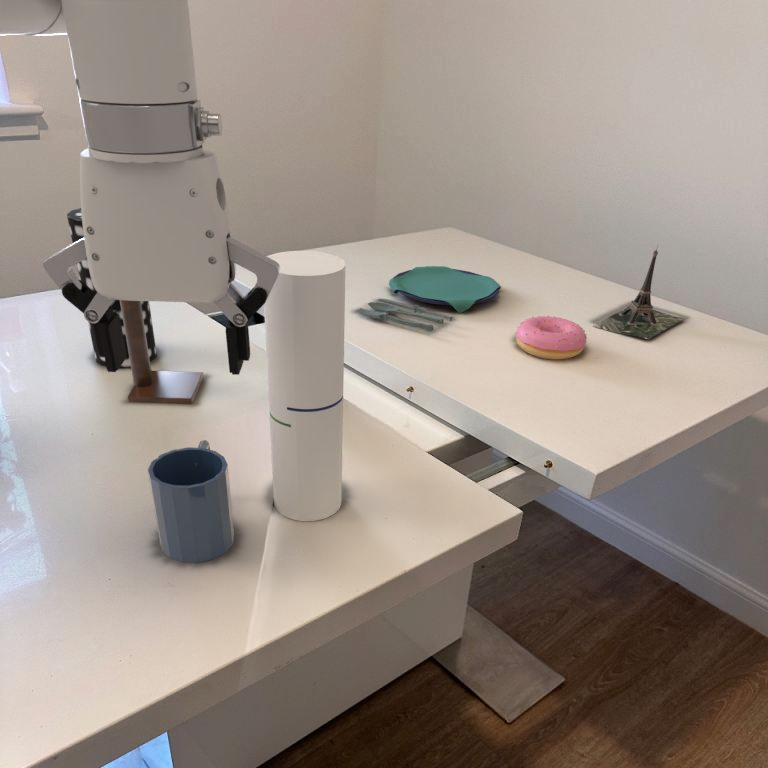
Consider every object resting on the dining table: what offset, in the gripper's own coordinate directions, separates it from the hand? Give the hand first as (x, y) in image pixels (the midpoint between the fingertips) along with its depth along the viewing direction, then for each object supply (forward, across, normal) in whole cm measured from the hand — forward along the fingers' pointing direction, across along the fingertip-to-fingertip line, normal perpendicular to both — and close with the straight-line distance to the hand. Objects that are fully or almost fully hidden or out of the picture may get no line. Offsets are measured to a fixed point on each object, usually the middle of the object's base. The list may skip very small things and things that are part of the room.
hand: (177, 366), depth 58 cm
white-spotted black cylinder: (+18, +18, -42) cm, 50 cm away
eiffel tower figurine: (+19, -63, -65) cm, 93 cm away
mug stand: (+18, +8, -32) cm, 38 cm away
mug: (+19, +1, -2) cm, 19 cm away
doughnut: (+19, -45, -52) cm, 71 cm away
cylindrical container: (+19, -10, -8) cm, 23 cm away
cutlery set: (+19, -27, -72) cm, 80 cm away
